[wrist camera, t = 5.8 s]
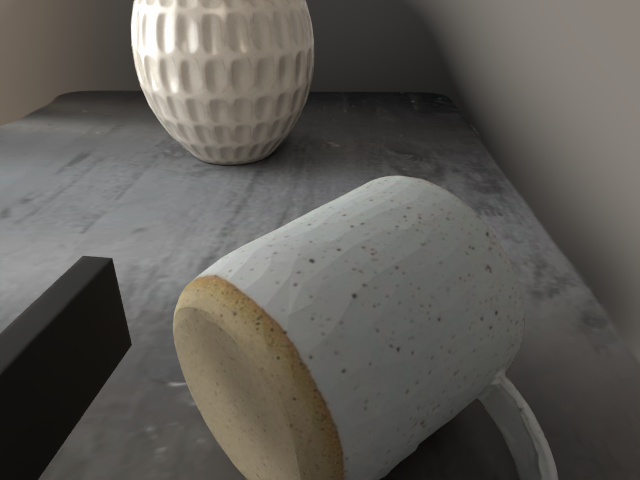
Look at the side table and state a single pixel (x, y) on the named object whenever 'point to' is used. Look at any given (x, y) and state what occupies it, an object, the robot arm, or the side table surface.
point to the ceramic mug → (358, 337)
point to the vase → (224, 72)
